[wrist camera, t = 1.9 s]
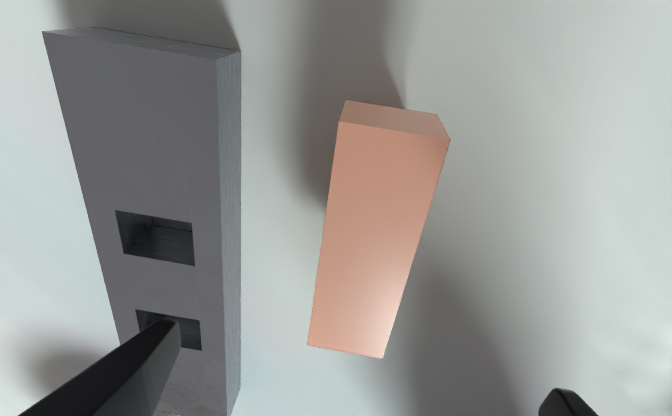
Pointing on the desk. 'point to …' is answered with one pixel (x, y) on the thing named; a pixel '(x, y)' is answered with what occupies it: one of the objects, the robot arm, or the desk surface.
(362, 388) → the desk surface
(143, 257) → the rail
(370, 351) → the peach rectangular block
